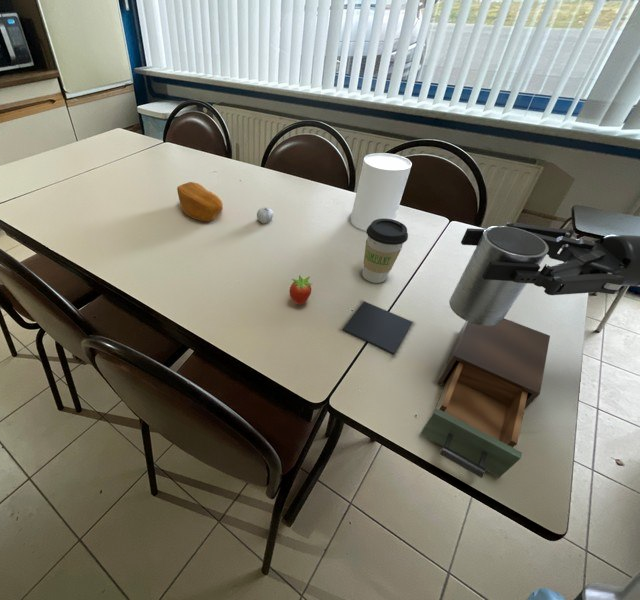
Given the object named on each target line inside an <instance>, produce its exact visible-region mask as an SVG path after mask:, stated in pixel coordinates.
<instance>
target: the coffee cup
mask: <svg viewBox="0 0 640 600" xmlns="http://www.w3.org/2000/svg"><path fill="white" fill-rule="evenodd" d="M365 232H366V234H367V236H366V240H365V246H364V253H363V254H364V255H363V263H362V264H363V266H362V273H361V275H362V277H363V279H365V280H366V281H367V282H370V283H374V284H380V283H383V282H385V281H386V280H387V278H388V275H389V273H390V272H391V270H392V268H393V267H394V265H395V263H396V261H397V259H398V257H399V255H400V253H401V251H402V249H403V245H404V243H406V242H407V241H408V239H409V233H408V228H407V226H406V225H405V224H404V223H402V222H401V221H399V220H396V219H395V220H392V219H377V220H374V221H373V222H372V223H371V225H369V226H368V228H367V231H365Z"/></svg>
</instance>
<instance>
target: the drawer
mask: <svg viewBox="0 0 640 600" xmlns="http://www.w3.org/2000/svg"><path fill="white" fill-rule="evenodd" d="M527 394H528V392H527V391H524V390H522V389H520V388H518V387H516V386H513V385H511V384H509V383H507V382H504V381H502V380H500V379H498V378H495V377H493V376H491V375H489V374H487V373H484V372H482V371H480V370H478V369H475V368H473V367H471V366H469V365H466V364H464V363H462V362H460V361H458V363H457V364H456V366H455V368H454V369H453V371H452V372H451V374H450V376H449V377H448V380H447V382H446V385H445V387H444V386H443V390H442V392H441V395H440V397H439V400H438V402H437V405H436V406H435V408H434V410H433V411H432V412H431V414H430V416H429V417H428V419H427V420H426V422H425V424H424V425H423V427H422V428H421V431H420V435H422V436H423V437H424V438H427V439H429V440H431V441H432V442H434V443H436V444H438V445H439V446H441V448H440V451H439V455H441V456H442V457H443V458H446V459H448V460H449V461H451V462H453V463H455V464H456V465H458V466H460V467H462V468H464V469H466V470H467V471H468V472H470V473H472V474H473V475H475V476H477V477H479V478H482V477H484V475H485V473H486V472H488V473H489V474H492V476H495V477H497V478H498V479H499V478H501V477H502V476H503V475H504V474H505V473H506V472H507V471H509V470H510V469H511V468H512V467H514V465H516V463H518V462H519V461H520V460H521V459H522V456H523V455H522V454H523V452H522V451H521V450H518V449H516V448H514V447H516V445H518V442H519V438H520V433H521V429H522V423H523V419H524V415H525V410H526V409H525V404H526V399H527ZM524 409H525V410H524Z"/></svg>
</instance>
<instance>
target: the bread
mask: <svg viewBox="0 0 640 600" xmlns="http://www.w3.org/2000/svg"><path fill="white" fill-rule="evenodd" d="M176 190H177V196H178V200H179V204H180V208H181V210H182V211H183V212H184V214H186V215H187V216H189V217H190V218H192V219H195V220H197V221H200V222H204V223H205V222H213V220H215V219H216V218H217V217H218V216H219V215H220V214H221V213H222V212H223V210H224V207H223V201H222V200H221V198H220V197H219V196H218V195H216V194H215V193H213V192H212V191H210V190H208V189H206V188H205V187H204V186H203V185H202V184H200V183H198V182H192V181H189V182H186V183H183V184H180V185H178V186H177V187H176Z"/></svg>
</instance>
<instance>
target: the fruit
mask: <svg viewBox="0 0 640 600" xmlns="http://www.w3.org/2000/svg"><path fill="white" fill-rule="evenodd" d="M310 277H311V276H310V275H309V276H307V277H305V278H303V276H301V274H299V276H298V279H294V278H292V279H291V280H292V281H293V282H292V283H291V284H290V287H289V296H290V298H291V299H292V301H293V302H294V303H296V304H297V305H304V304H305V303H306V302H307V300H308V299H309V298H310V296H311V294H312V285H313V284H314V283H313V282H312V283H310V282H309V279H310Z"/></svg>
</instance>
